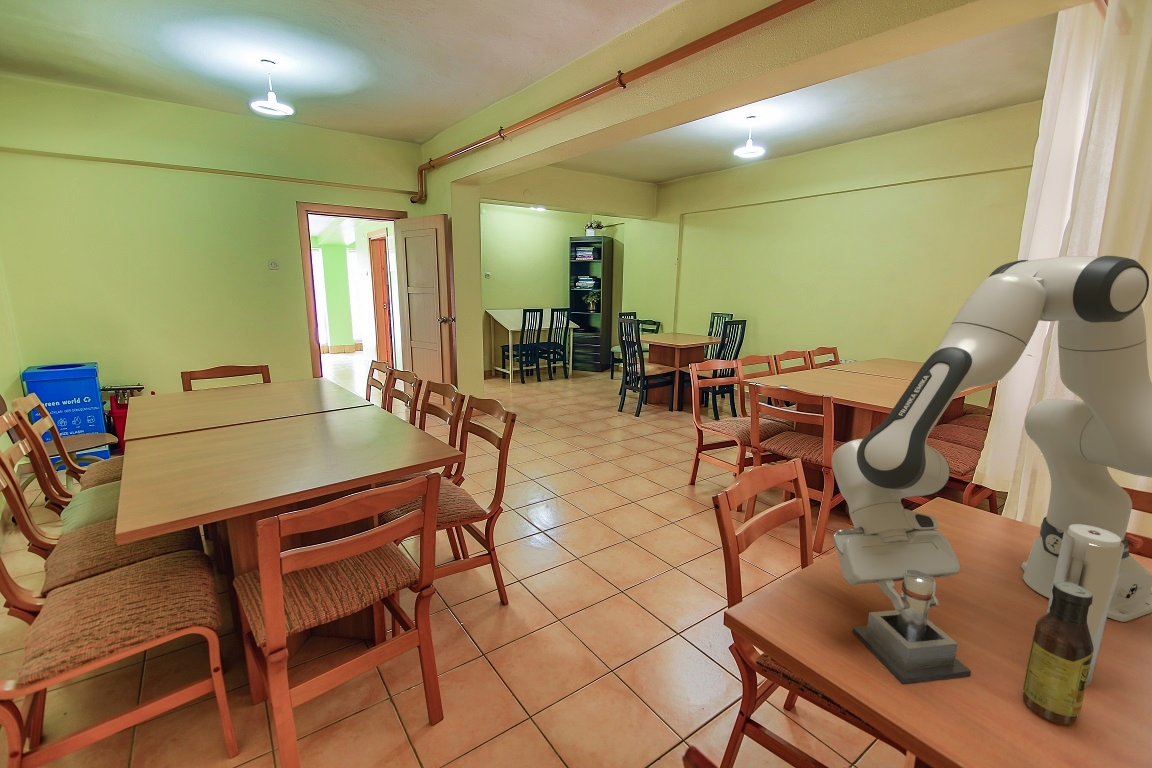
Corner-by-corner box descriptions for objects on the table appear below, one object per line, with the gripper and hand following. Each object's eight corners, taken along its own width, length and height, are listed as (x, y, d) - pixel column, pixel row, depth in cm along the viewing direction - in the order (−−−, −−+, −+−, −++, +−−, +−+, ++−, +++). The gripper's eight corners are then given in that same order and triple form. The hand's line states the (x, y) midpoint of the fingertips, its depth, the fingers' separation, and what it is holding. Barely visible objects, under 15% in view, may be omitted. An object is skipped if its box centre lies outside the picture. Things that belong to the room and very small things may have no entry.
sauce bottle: (1083, 735, 70) (1115, 611, 65) (1025, 715, 73) (1051, 595, 69) (1069, 702, 75) (1097, 585, 71) (1016, 684, 78) (1039, 572, 74)
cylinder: (910, 629, 87) (920, 568, 84) (930, 647, 83) (941, 583, 80) (888, 632, 86) (898, 570, 84) (907, 649, 82) (917, 585, 80)
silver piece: (1102, 689, 77) (1139, 544, 72) (1053, 683, 78) (1086, 540, 73) (1070, 659, 83) (1102, 523, 78) (1026, 653, 85) (1054, 519, 80)
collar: (911, 625, 92) (915, 602, 91) (970, 676, 80) (975, 649, 79) (852, 631, 90) (855, 607, 89) (902, 684, 78) (906, 656, 77)
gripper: (838, 524, 86) (871, 610, 79) (944, 517, 89) (985, 599, 81) (820, 535, 91) (849, 616, 84) (920, 527, 94) (957, 606, 86)
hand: (917, 608), depth 83 cm, fingers closed on cylinder, 4 cm apart
